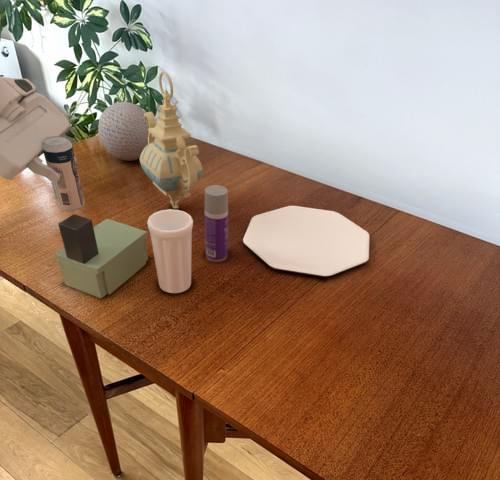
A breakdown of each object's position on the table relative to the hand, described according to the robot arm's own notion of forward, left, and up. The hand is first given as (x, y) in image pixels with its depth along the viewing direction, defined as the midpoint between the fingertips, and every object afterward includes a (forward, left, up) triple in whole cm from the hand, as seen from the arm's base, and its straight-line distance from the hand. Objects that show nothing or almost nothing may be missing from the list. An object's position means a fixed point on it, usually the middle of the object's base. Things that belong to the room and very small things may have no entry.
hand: (66, 171), depth 81 cm
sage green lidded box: (+5, 0, -20) cm, 20 cm away
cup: (+19, +3, -20) cm, 28 cm away
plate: (+36, +31, -20) cm, 52 cm away
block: (+5, -5, -13) cm, 15 cm away
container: (+21, +16, -20) cm, 33 cm away
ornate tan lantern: (+2, +29, -20) cm, 36 cm away
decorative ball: (-25, +47, -20) cm, 57 cm away
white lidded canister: (-1, 0, -7) cm, 7 cm away
